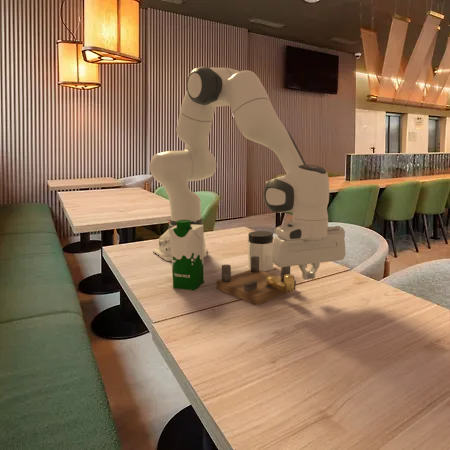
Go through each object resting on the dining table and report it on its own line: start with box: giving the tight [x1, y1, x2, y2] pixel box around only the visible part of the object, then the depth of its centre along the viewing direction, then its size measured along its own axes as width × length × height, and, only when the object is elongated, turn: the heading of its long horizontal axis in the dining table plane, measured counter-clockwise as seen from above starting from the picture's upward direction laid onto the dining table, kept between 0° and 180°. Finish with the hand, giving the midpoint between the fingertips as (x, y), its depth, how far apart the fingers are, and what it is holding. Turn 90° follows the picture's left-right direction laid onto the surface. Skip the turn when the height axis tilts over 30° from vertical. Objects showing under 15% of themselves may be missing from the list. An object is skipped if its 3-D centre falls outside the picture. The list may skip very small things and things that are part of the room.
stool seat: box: [216, 256, 296, 306], centre depth 110 cm, size 16×16×7 cm
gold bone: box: [267, 273, 295, 294], centre depth 104 cm, size 9×3×4 cm, turn 42°
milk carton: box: [168, 220, 205, 291], centre depth 113 cm, size 9×9×20 cm
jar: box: [247, 230, 274, 272], centre depth 128 cm, size 9×8×12 cm
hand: (308, 278), depth 103 cm, fingers closed
